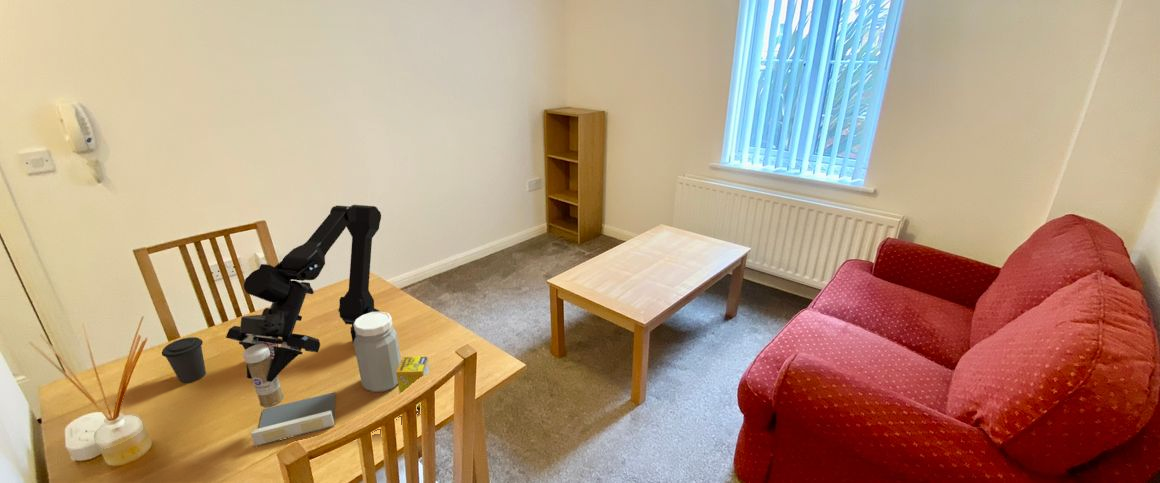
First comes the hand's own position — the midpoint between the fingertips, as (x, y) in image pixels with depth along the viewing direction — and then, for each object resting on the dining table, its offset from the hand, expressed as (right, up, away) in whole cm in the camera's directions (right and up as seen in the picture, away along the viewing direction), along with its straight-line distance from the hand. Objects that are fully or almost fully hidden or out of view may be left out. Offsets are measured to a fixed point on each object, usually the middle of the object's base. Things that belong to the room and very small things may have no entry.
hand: (259, 380), depth 101 cm
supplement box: (+29, -9, +14) cm, 33 cm away
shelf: (+3, -11, +8) cm, 14 cm away
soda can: (-16, -3, +27) cm, 32 cm away
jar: (+18, -6, +20) cm, 28 cm away
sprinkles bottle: (0, -6, +4) cm, 7 cm away
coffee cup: (-31, -5, +21) cm, 38 cm away
